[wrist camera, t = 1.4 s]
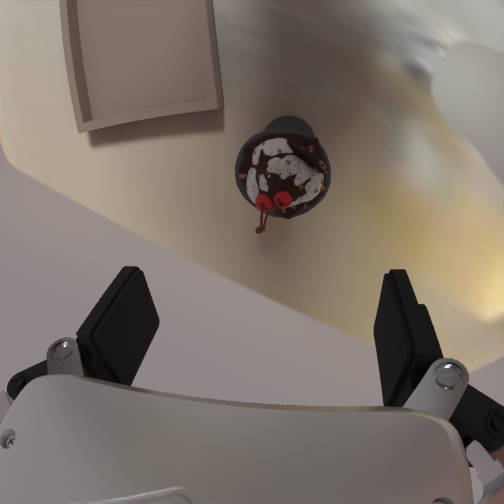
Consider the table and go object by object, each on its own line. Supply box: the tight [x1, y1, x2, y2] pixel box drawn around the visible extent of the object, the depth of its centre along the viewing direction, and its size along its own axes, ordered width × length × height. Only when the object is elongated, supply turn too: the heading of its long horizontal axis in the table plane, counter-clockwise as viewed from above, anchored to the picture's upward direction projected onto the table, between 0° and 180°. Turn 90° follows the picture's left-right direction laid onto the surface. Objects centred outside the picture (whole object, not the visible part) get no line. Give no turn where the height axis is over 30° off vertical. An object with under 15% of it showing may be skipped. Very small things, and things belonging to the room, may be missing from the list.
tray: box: [60, 0, 224, 133], centre depth 24 cm, size 20×16×2 cm
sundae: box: [235, 116, 331, 234], centre depth 24 cm, size 7×7×15 cm
